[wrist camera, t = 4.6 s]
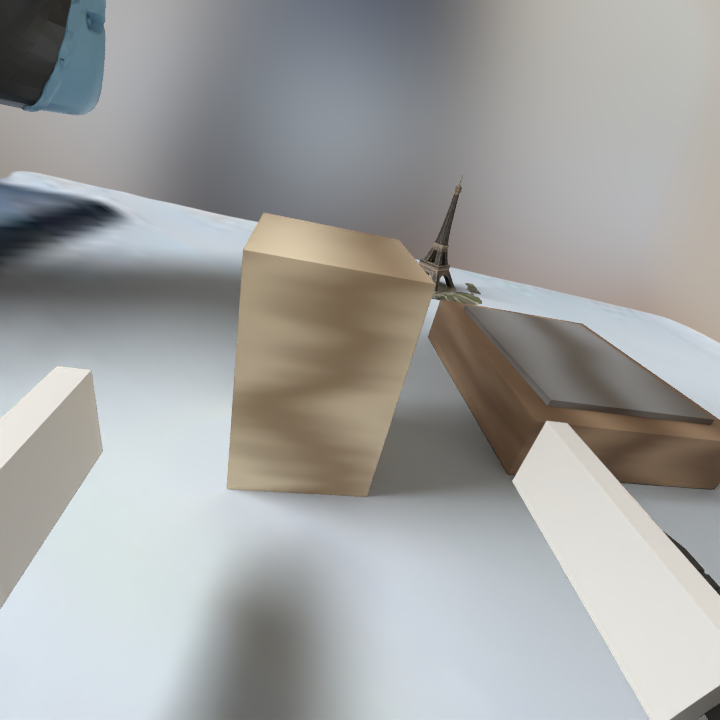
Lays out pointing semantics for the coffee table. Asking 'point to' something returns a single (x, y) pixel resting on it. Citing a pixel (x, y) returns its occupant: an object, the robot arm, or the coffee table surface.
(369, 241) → the oak block
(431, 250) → the eiffel tower figurine
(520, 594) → the coffee table surface
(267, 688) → the coffee table surface
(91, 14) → the robot arm
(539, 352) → the walnut frame
